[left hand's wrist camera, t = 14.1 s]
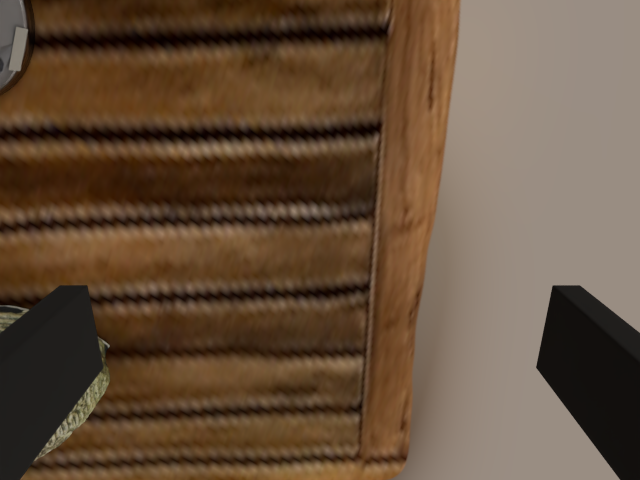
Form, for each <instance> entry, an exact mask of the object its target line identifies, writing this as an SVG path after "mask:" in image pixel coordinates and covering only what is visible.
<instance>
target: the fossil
mask: <svg viewBox="0 0 640 480" xmlns="http://www.w3.org/2000/svg"><path fill="white" fill-rule="evenodd" d="M27 311H29V310H28V309H25V308H20V307H16V306H9V305H6V306H1V305H0V333H1V332H2V331H3V330H5V329H6V328H7V327H8V326H10V325H11V324H12V323H14V322H15V321H16V320H17V319H19V318H20V317H21V316H22V315H24V314H25V313H26V312H27ZM98 341H99V346H100V351H101V356H102V361H103V366H104V368H103V369H102V371H101V372H100V373H99V375H98V376H97V377H96V379H95V380H94V381H93V383H92V384H91V385H90V387H89V388H88V389H87V391H86V392H85V393H84V395H83V396H82V397H81V399H80V400H79V401H78V403H77V404H76V405H75V407H74V408H73V409H72V411H71V412H70V413H69V415H68V416H67V417H66V419H65V420H64V421H63V423H62V424H61V425H60V427H59V428H58V429H57V431H56V432H55V433H54V435H53V436H52V437H51V439H50V440H49V441H48V443H47V444H46V445H45V447H44V448H43V449H42V451H41V452H40V453H39V455H38V456H37V457H36V459H35V460H37V459H38V458H39V457H42V456H44V455H45V454H47V453H48V452H50V451H51V450H53V449H54V448H56V447H58V446H59V445H60V444H62V443H63V442H64V441H65V440H66V439H67V438H68V437H70V435H71V434H72V432H73V430H75V429H76V428H78V427H79V426H80V425H81V424H82V423H83V422H85V420H86V418H87V417H88V416H89V414H90V413H91V412H92V411H93V409H94V408H95V406H96V405H97V403H98V401H99V400H100V399H101V397H102V396H103V394H104V392H105V391H106V389H107V386H108V384H109V382H110V373H109V370H108V367H107V364H106V359H105V355H106V351H107V349H108V348H109V346H110V345H109V344H108V343H106V342H105V341H104V340H102V339H101V338H99V337H98ZM35 460H34V461H35Z"/></svg>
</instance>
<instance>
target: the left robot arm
mask: <svg viewBox="0 0 640 480" xmlns="http://www.w3.org/2000/svg"><path fill="white" fill-rule="evenodd" d="M34 41H35V22H34V14H33V9H32V5H31V1H30V0H0V95H1V94H3V93H5V92H6V91H8V90H9V89H10V88H12V87H13V86H14V85H15V84H16V83H17V82H18V81H19V79H20V78H21V77H22V75H23V74H24V72H25V70H26V69H27V67H28V65H29V62H30V59H31V56H32V52H33V48H34ZM103 368H104V366H103V361H102V356H101V351H100V346H99V341H98V336H97V331H96V326H95V322H94V317H93V312H92V307H91V302H90V297H89V292H88V287H87V286H59V287H58V288H56V289H55V290H54V291H53V292H51V293H50V294H49V295H48V296H46V297H45V298H44V299H42V300H41V301H40V302H39V303H37V304H36V305H35V306H34V307H32V308H31V309H30V310H29V311H27V312H26V313H25V314H24V315H22V316H21V317H20V318H19V319H17V320H16V321H15V322H14V323H12V324H11V325H10V326H8V327H7V328H6V329H5V330H3V331H2V332H1V333H0V480H20V479H21V477H22V476H23V475H24V473H25V472H26V471H27V469H28V468H29V467H30V465H31V464H32V463H33V461H34V460H35V459H36V457H37V456H38V455H39V453H40V452H41V451H42V449H43V448H44V447H45V445H46V444H47V443H48V441H49V440H50V439H51V437H52V436H53V435H54V433H55V432H56V431H57V429H58V428H59V427H60V425H61V424H62V423H63V421H64V420H65V419H66V417H67V416H68V415H69V413H70V412H71V411H72V409H73V408H74V407H75V405H76V404H77V403H78V401H79V400H80V399H81V397H82V396H83V395H84V393H85V392H86V391H87V389H88V388H89V387H90V385H91V384H92V383H93V381H94V380H95V379H96V377H97V376H98V375H99V373H100V372H101V371H102V369H103ZM536 368H537V369H538V371H539V372H540V373H541V375H542V376H543V377H544V379H545V380H546V381H547V383H548V384H549V385H550V387H551V388H552V389H553V391H554V392H555V393H556V395H557V396H558V397H559V399H560V400H561V401H562V403H563V404H564V405H565V407H566V408H567V409H568V411H569V412H570V413H571V415H572V416H573V417H574V419H575V420H576V421H577V423H578V424H579V425H580V427H581V428H582V429H583V431H584V432H585V433H586V435H587V436H588V437H589V439H590V440H591V441H592V443H593V444H594V445H595V447H596V448H597V449H598V451H599V452H600V453H601V455H602V456H603V457H604V459H605V460H606V461H607V463H608V464H609V465H610V467H611V468H612V469H613V471H614V472H615V473H616V475H617V476H618V477H619V479H620V480H640V333H639V332H638V331H637V330H635V329H634V328H633V327H632V326H630V325H629V324H628V323H626V322H625V321H624V320H623V319H621V318H620V317H619V316H618V315H616V314H615V313H614V312H613V311H611V310H610V309H609V308H608V307H606V306H605V305H604V304H602V303H601V302H600V301H599V300H598V299H596V298H595V297H594V296H592V295H591V294H590V293H589V292H587V291H586V290H585V289H584V288H582V287H581V286H553V287H552V292H551V297H550V302H549V307H548V312H547V317H546V322H545V326H544V331H543V337H542V341H541V347H540V351H539V356H538V361H537V366H536Z"/></svg>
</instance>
